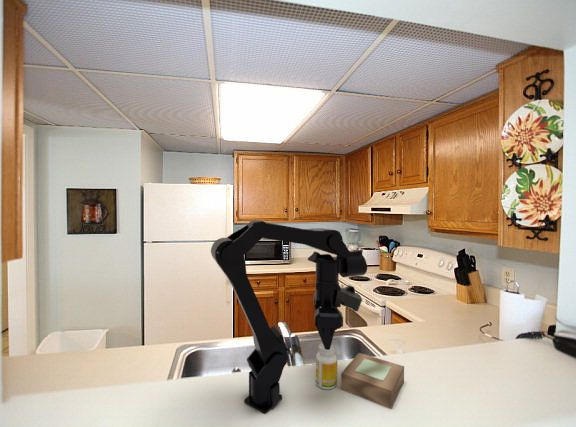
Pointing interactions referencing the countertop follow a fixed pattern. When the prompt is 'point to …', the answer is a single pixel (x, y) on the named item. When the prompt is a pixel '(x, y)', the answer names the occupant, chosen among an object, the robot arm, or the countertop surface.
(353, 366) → the walnut riser
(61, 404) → the countertop surface
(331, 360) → the supplement bottle
